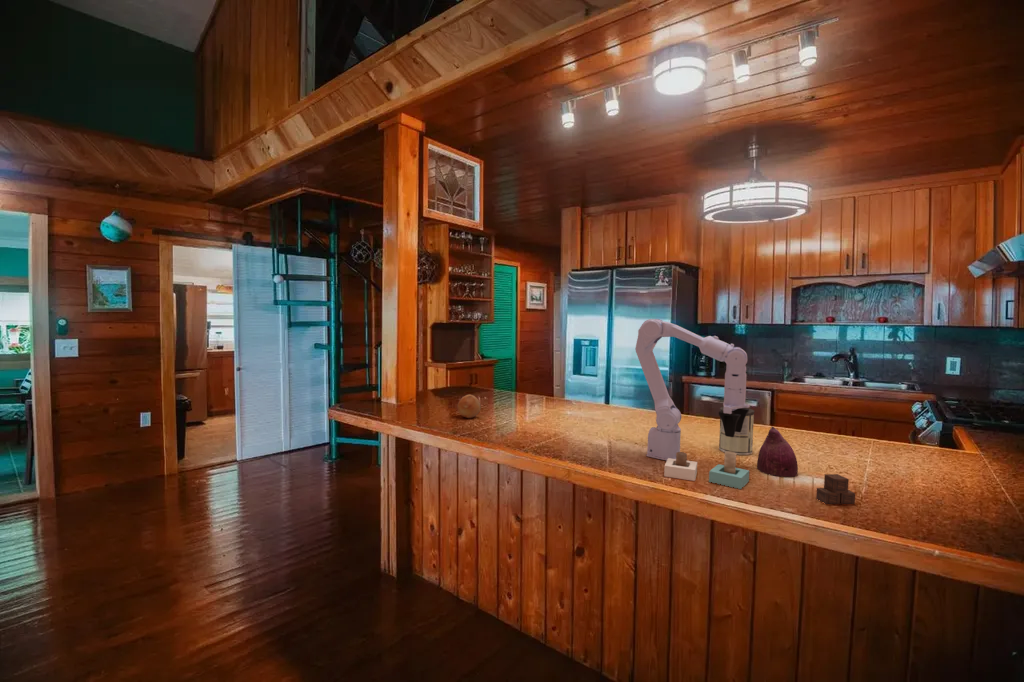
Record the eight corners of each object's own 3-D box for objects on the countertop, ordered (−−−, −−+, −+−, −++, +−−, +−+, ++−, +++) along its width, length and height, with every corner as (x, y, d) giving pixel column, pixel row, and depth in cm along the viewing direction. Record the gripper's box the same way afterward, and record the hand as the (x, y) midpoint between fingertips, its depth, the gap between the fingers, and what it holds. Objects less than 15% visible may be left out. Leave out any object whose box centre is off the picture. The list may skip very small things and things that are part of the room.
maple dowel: (722, 481, 127) (723, 452, 126) (725, 479, 129) (726, 450, 129) (733, 484, 125) (734, 454, 125) (736, 481, 127) (737, 452, 127)
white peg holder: (664, 476, 131) (664, 465, 130) (667, 468, 138) (668, 458, 138) (694, 481, 127) (695, 470, 127) (696, 472, 134) (697, 461, 134)
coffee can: (714, 445, 162) (715, 405, 162) (745, 447, 161) (747, 406, 161) (724, 454, 152) (726, 411, 151) (757, 456, 151) (759, 412, 150)
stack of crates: (837, 490, 123) (838, 465, 123) (884, 515, 108) (886, 486, 108) (781, 490, 123) (783, 464, 122) (821, 515, 108) (823, 485, 107)
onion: (455, 416, 204) (455, 393, 204) (477, 414, 207) (477, 392, 207) (459, 420, 195) (459, 397, 195) (482, 419, 198) (483, 396, 197)
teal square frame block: (708, 481, 127) (709, 471, 126) (718, 474, 133) (718, 464, 133) (740, 489, 121) (741, 478, 121) (748, 481, 128) (749, 470, 127)
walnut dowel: (674, 474, 132) (674, 453, 132) (677, 472, 134) (678, 451, 134) (683, 476, 131) (684, 455, 130) (687, 474, 133) (688, 453, 132)
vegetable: (777, 489, 131) (774, 440, 127) (749, 472, 141) (745, 427, 137) (807, 477, 133) (805, 429, 130) (778, 461, 143) (775, 417, 139)
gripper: (743, 393, 130) (741, 441, 131) (756, 387, 141) (754, 431, 142) (716, 390, 135) (714, 436, 136) (731, 384, 146) (729, 428, 147)
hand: (733, 434), depth 139 cm, fingers open, 7 cm apart
